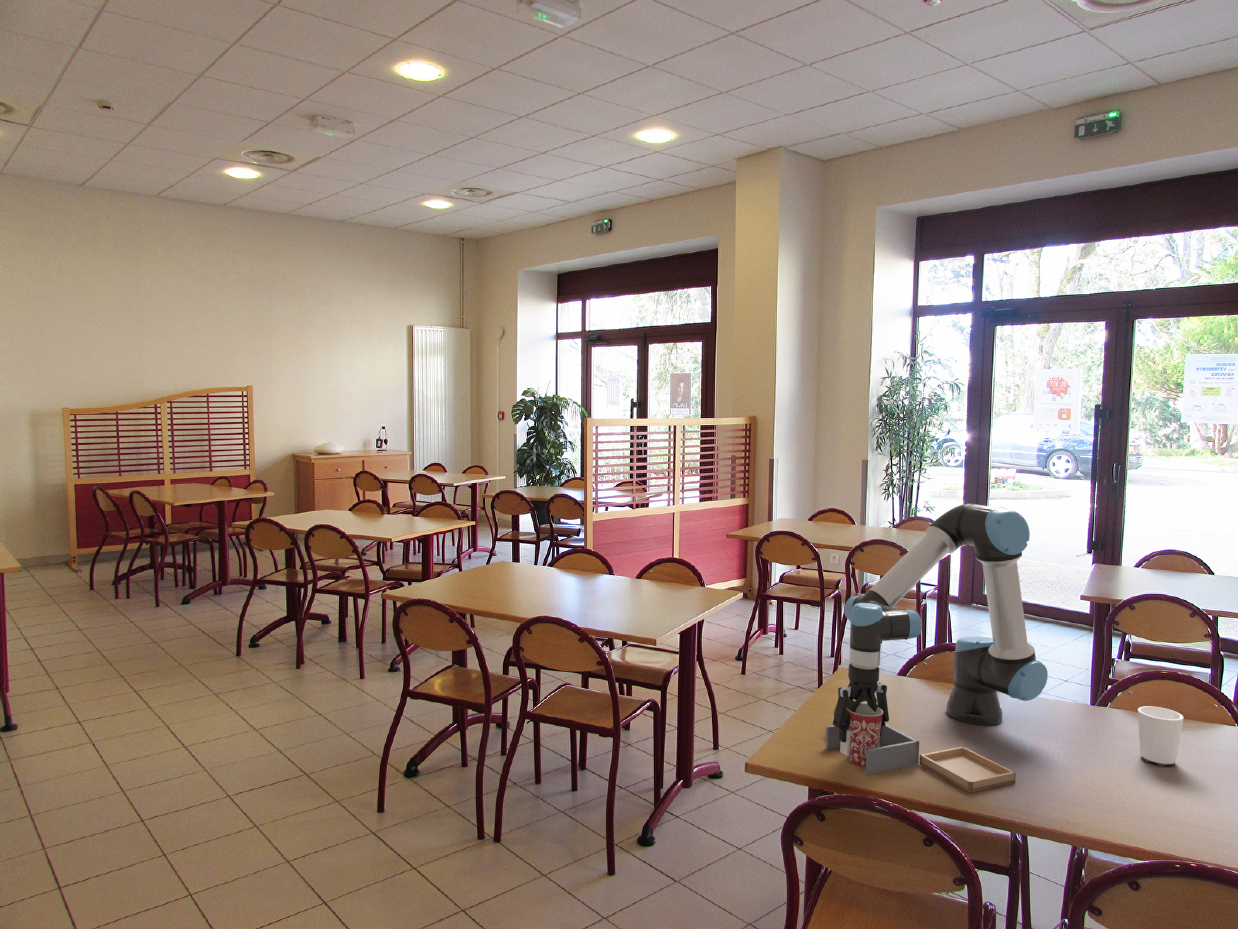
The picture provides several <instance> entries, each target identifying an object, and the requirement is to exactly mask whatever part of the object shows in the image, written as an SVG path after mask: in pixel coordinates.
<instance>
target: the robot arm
mask: <svg viewBox="0 0 1238 929" xmlns="http://www.w3.org/2000/svg"><path fill="white" fill-rule="evenodd" d="M1030 537H1031V534H1030V528H1029V524H1028V522H1027V520H1026V519H1025V517H1023V515H1022V514H1020V513H1019V512H1017V511H1016V510H1012V509H1008V508H1005V507H996V506H988V505H981V504H977V503H966V504H960V505H957V506H955V507H953V508H951V509H949V510H948V511H946V512H944V513H943V514H942V515H940V516H939V517H938V518H936V519H935V520H934V521H933V522H932V523H931V524H930V525H929V526H928V527H927V528H926V529H925V535H924V536H922V538H921V539H920V540H919V541H918V542H916V544H914V546H913V547H911V549H909V551H907V553H906V554H904V556H902V557H901V558H900V559H899V560H898V561H897V562H896V563H895V564H894V565H893V566H892V567H890V569H889V570H888V571H886V573H885V574H884V575H883V576H882V577H880V579H879V580H877V582H876V583H874V584H873V586H872V587H871V588H870V589H868V591H867V592H866V593H865V594H864V595H862V596H861V595H854V596H851V597H849V598H848V599H847V601H846V602H845V604H844V608H843V609H844V610H843V612H844V615H845V617H846V619H847V620H848V621H850V628H849V629H850V630H849V631H850V632H849V633H850V634H849V635H850V636H849V654H848V655H849V656H848V661H849V664H848V672H847V674H848V675H847V677H848V680H849V683H848V685H847V687H844V688H843V687H841V686H840V687H838V689H837V694H838V698H837V702H836V705H837V706H836V705H835V707H836V711H835V715H834V714H833V721H832V725H834V726H835V727H837V728H839V741H841V746H840V747H839V748H840V749H839V753H841V754H843V755H844V756H845V757H847V756H849V754H850V734H851V732H850V730H849V729H848V728H849V726H850V714H849V713H848V711H847V708H848V709H849V710H850V711H852V712H854V713H855V711H856V709H857V707H858V706H860V703H864V702H866V704H868V705H869V707H870V708H871V709H872V710H873V711H874V712H876V709H877V707H879V708H881V709H882V710H883V715H882V722H881V730H880V737H881V735H882V726H885V724H887V723H888V722H889V721H890V717H889V716H890V715H889V707H888V700H887V699H888V698H887V691H888V686H887V685H886V684H883V683H881V682H879V680H880V667H879V666H880V663H881V647H882V646H881V644H882V642H887V641H899V640H900V641H902V640H905V641H907V640H911V639H916V638H917V637H918V636H920V635H921V633H922V631H923V621H922V618H921V616H920V614H919V613H918V612H917V611H916V610H914V609H910V608H908V609H906V608H903V609H898V608H894V606H896V604H897V603H898V602H900V600H901V599H903V598H904V597H905V595H907V594H908V592H910V591H911V590H912V589H913V588H914V587H915V586H916V585H917V584H918V583H919V582H920V581H921V580H922V579H923V577H925V575H927V574H928V573H929V572H930V571H931V570H932V569H933V568H934V567H935V566H936V565H937V564H938V563H939V562H940V561H941V560H942V559H943V558H944V557H945V556H946V555H947V554H953V553H955V552H956V551H957V549H959V548H960V547H964V546H969V547H970V546H971V547H973V550H974V556H975V560H977V561H979V563H981V564H982V570H983V571H982V572H983V577H984V578H983V579H984V584H985V592H986V593H985V594H986V599H987V609H988V614H989V621H990V629H991V636H992V637H986V636H985V637H984V636H965V637H960V638H958V639H957V640H956V643H955V650H954V666H953V668H954V669H953V688H952V690H951V693H950V695H949V699H948V701H947V702H946V707H945V708H946V710H945V712H946V714H947V715H948V716H949V717H951V718H953V719H956V720H958V721H961V722H965V723H969V724H973V725H983V726H985V725H989V726H991V725H996V724H999V723H1001V722H1002V721H1003V710H1002V707H1001V705H1000V701H999V696H998V692H1000V693H1002V694H1005V695H1007V696H1009V697H1010V698H1012V699H1017V700H1019V701H1023V702H1026V701H1027V702H1028V701H1032V700H1034V699H1036V698H1037V697H1038V696H1040V695H1041V693H1042V692H1043V690H1044V689H1045V688H1046V685H1047V683H1048V677H1049V674H1048V669H1047V666H1046V665H1045V664H1044V663H1043V662H1042V661H1040V660H1037V658H1036V650H1035V646H1033V645H1032V644H1030V643H1029V642H1028V634H1027V629H1026V628H1027V627H1026V620H1025V613H1024V606H1023V605H1024V604H1023V598H1022V591H1021V585H1020V584H1021V583H1020V582H1021V581H1020V575H1019V568H1018V560H1020V558H1022V557H1023V551H1024V550H1026V548H1027V547H1028V545H1029V544H1028V542H1029V541H1030ZM875 694H876V695H875ZM879 741H880V738H879ZM878 747H880V745H879V746H878Z"/></svg>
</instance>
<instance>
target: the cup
mask: <svg viewBox="0 0 1238 929" xmlns="http://www.w3.org/2000/svg"><path fill="white" fill-rule="evenodd" d="M1137 718H1138V720H1137V721H1138V738H1139V755H1140V756H1141V757H1142V759H1143V760H1144V762H1146V763H1150V764H1151V763H1154V764H1156V765H1157V766H1159V767H1165V766H1167V765H1168V766H1173V767H1174V765H1175V764H1176V762H1177V756H1178V750H1179V746H1180V739H1181V733H1182V728H1183V722H1184V715H1183V714H1181V713H1179V712H1178V711H1175V710H1172V709H1169V708H1165V707H1161V706H1152V705H1151V706H1150V705H1145V706H1144V705H1143V706H1140V707H1138V708H1137Z"/></svg>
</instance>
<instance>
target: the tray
mask: <svg viewBox="0 0 1238 929" xmlns="http://www.w3.org/2000/svg"><path fill="white" fill-rule="evenodd" d="M918 765H919V766H921V767H923V768H925V769H927V770H929V771H930V772H932V773H934V774H936V775H938V776H939V777H941V778H943V779H944V780H947V781H948V782H950V783H951V784H953V785H956V786H957V787H959V788H961V789H963V790H965V791H966V792H968V793H969V794H970V793H975V792H979V791H984V790H988V789H989V790H990V789H993V788H998V787H1003V786H1006V785H1011V784H1016V778H1017V777H1016V772H1015V771H1013V770H1011V769H1009V768H1007V767H1005V766H1003V765H1002V764H999V763H997V762H995V761H993V760H992V759H989V758H987V757H985V756H983V755H981V754H979V753H977V752H976V751H973V750H971V749H969V748H967V747H964V746H958V747H953V748H948V749H947V748H946V749H943V750H942V749H941V750H938V751H937V750H936V751H932V752H928V753H922V754H919V763H918Z"/></svg>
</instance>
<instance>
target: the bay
mask: <svg viewBox="0 0 1238 929" xmlns="http://www.w3.org/2000/svg"><path fill="white" fill-rule="evenodd" d="M825 729H826V730H825V749H826V750H828V751H829V750H833V749H839V748H840V746H841V741H839V728H837V727H835V726H834V725H833V724H832V725H827V726H826V728H825ZM919 761H920V741H919V740H917V739H915V738H914V737H911V736H910V735H908V734H906V733H904V732H902V731H900V730H899V729H897V728H894V727H893V726H891V725H890V724H887V723H886V724H885V726H882V735H881V737H880V741H879V747H878V748H873V749H867V750H866V766H865V774H866V775H869V776H870V775H873V774H877V773H883V772H889V771H893V770H898V769H899V770H900V769H902V768H907V767H908V768H909V767H913V766H917V765H919Z"/></svg>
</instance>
